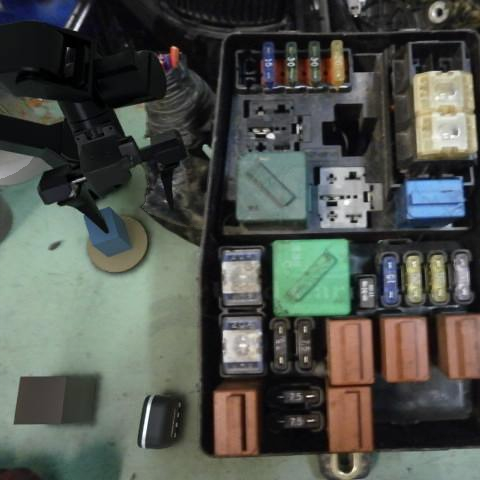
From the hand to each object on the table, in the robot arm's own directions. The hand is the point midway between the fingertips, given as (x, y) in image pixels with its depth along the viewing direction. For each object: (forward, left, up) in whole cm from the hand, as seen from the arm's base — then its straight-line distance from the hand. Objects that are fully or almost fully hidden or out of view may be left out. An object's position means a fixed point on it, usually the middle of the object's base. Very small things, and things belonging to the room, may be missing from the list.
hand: (140, 221), depth 75 cm
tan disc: (-4, -6, -14) cm, 15 cm away
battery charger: (+24, -13, -14) cm, 30 cm away
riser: (+13, -23, -14) cm, 30 cm away
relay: (-5, -5, -12) cm, 14 cm away
